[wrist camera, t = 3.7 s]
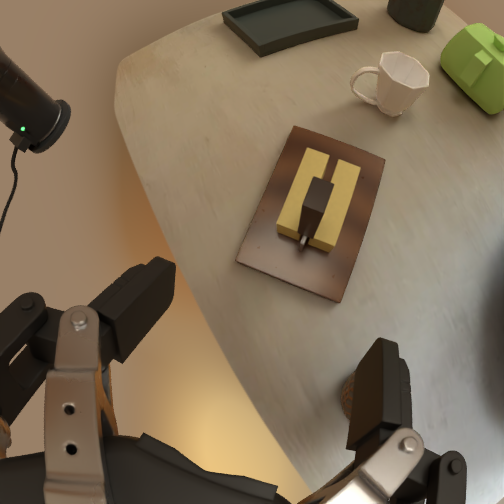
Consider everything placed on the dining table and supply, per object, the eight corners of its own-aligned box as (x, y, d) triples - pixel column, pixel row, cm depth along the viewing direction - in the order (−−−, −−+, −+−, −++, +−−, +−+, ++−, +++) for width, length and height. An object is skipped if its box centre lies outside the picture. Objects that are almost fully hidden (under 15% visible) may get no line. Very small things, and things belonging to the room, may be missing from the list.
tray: (260, 57, 37) (258, 46, 35) (223, 22, 40) (221, 12, 38) (357, 29, 37) (359, 18, 35) (312, -3, 40) (312, -12, 37)
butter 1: (298, 240, 31) (300, 233, 27) (276, 232, 31) (276, 223, 28) (325, 169, 32) (329, 155, 29) (305, 162, 32) (307, 147, 29)
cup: (416, 127, 33) (438, 93, 25) (349, 120, 34) (361, 81, 26) (404, 90, 34) (421, 55, 26) (342, 83, 35) (350, 43, 27)
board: (338, 303, 30) (340, 303, 29) (236, 262, 32) (234, 260, 31) (383, 163, 33) (385, 159, 31) (293, 130, 35) (293, 125, 33)
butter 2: (329, 252, 30) (334, 246, 27) (307, 244, 31) (310, 236, 27) (354, 180, 31) (361, 167, 28) (334, 172, 32) (338, 158, 28)
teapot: (526, 114, 31) (558, 81, 18) (497, 154, 31) (542, 114, 18) (464, 47, 35) (485, 7, 22) (419, 70, 35) (444, 16, 22)
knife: (306, 254, 31) (320, 224, 19) (292, 248, 31) (297, 215, 19) (319, 219, 31) (338, 174, 19) (306, 214, 31) (316, 166, 20)
